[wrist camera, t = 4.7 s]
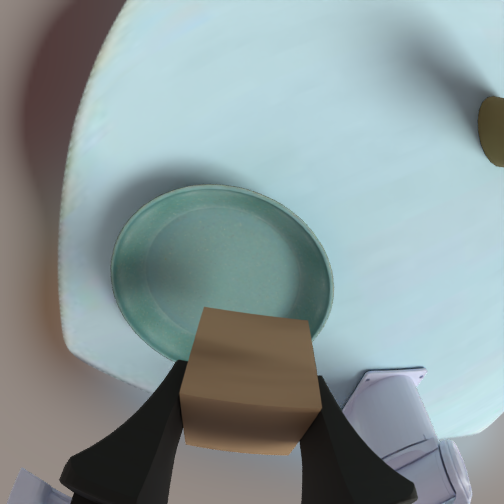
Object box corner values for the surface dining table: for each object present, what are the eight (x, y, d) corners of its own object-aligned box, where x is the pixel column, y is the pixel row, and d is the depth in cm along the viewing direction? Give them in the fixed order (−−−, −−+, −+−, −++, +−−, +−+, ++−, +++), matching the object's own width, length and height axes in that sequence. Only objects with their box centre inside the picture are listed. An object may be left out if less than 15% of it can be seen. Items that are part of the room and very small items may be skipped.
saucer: (104, 191, 17) (84, 202, 14) (327, 168, 16) (339, 176, 13) (154, 351, 23) (145, 372, 21) (319, 348, 22) (324, 371, 20)
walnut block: (285, 381, 15) (288, 455, 11) (201, 371, 15) (185, 444, 11) (308, 320, 13) (322, 408, 8) (204, 306, 13) (179, 393, 8)
